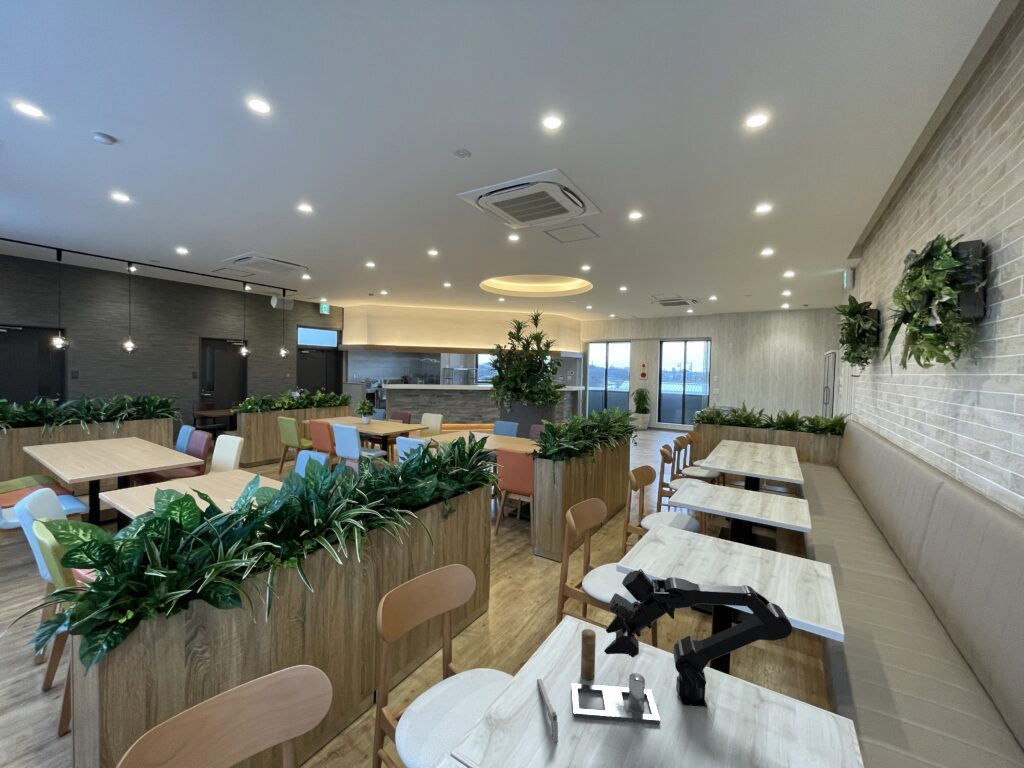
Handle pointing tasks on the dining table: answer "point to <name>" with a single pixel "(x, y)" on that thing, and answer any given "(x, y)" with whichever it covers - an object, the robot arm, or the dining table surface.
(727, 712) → the dining table surface
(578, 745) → the dining table surface
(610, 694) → the plate
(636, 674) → the steel pin
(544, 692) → the caliper
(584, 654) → the walnut pin
